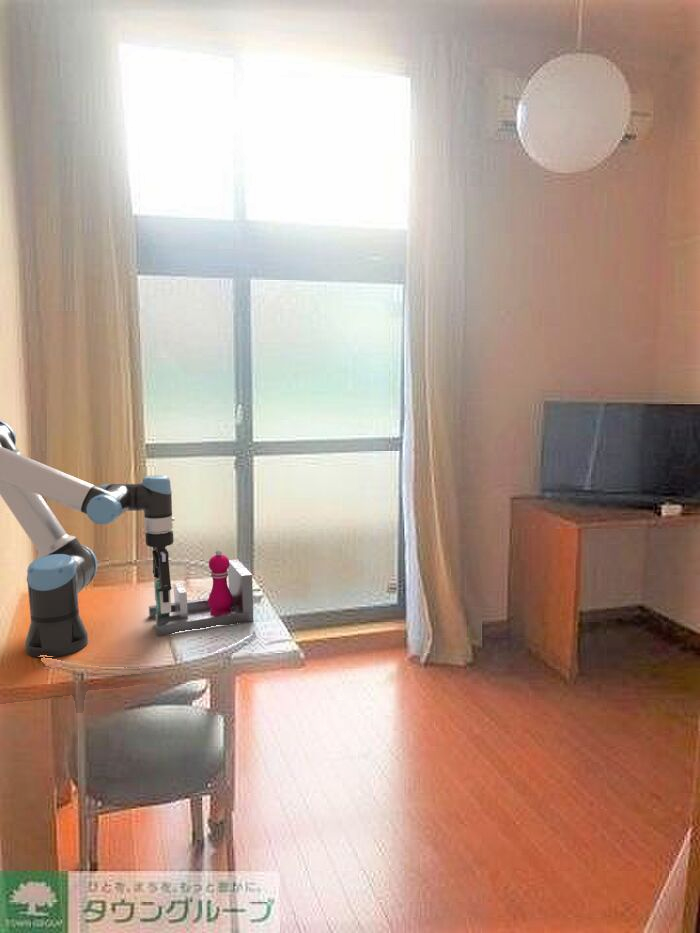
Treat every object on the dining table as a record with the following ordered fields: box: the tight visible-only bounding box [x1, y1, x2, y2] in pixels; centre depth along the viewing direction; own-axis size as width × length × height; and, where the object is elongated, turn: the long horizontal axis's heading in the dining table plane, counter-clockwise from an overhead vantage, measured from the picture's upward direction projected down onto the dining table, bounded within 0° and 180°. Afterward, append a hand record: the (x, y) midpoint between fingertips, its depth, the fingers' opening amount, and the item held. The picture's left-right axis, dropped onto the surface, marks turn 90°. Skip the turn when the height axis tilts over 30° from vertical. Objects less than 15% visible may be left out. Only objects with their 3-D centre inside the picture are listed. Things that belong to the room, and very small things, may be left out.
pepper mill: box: [208, 549, 233, 616], centre depth 198 cm, size 7×7×20 cm
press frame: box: [148, 559, 254, 637], centre depth 196 cm, size 27×17×14 cm, turn 113°
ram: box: [154, 580, 189, 625], centre depth 193 cm, size 8×10×12 cm
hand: (162, 606), depth 192 cm, fingers open, 11 cm apart
